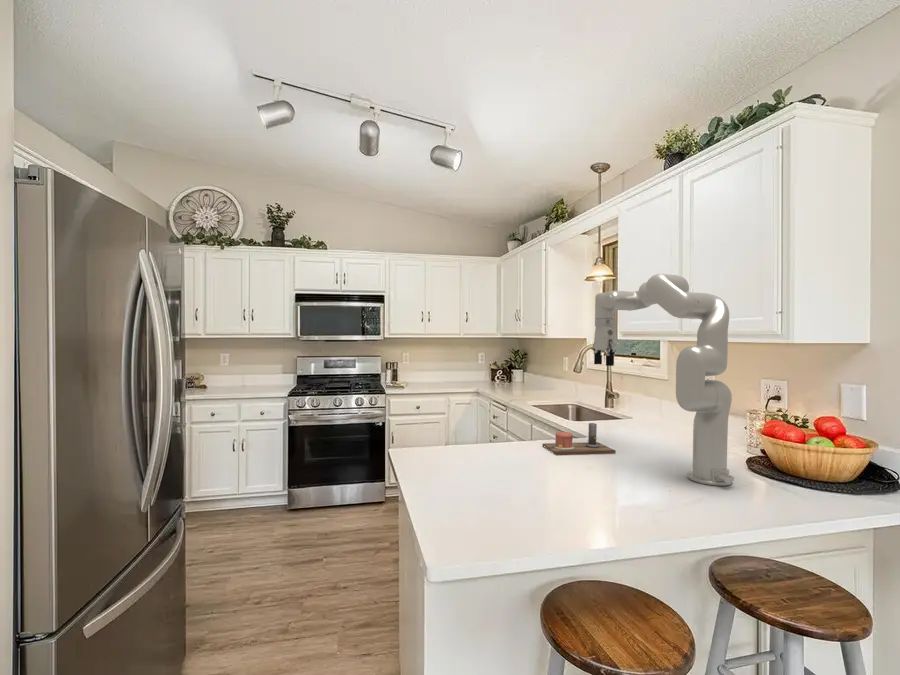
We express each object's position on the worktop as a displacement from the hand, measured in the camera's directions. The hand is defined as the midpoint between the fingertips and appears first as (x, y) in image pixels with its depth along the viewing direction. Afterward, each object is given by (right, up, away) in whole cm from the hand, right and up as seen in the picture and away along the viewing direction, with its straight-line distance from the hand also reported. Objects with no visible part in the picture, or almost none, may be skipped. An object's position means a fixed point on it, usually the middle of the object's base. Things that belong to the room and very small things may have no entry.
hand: (603, 364), depth 190 cm
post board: (-12, -33, -7) cm, 36 cm away
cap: (-18, -31, -8) cm, 37 cm away
